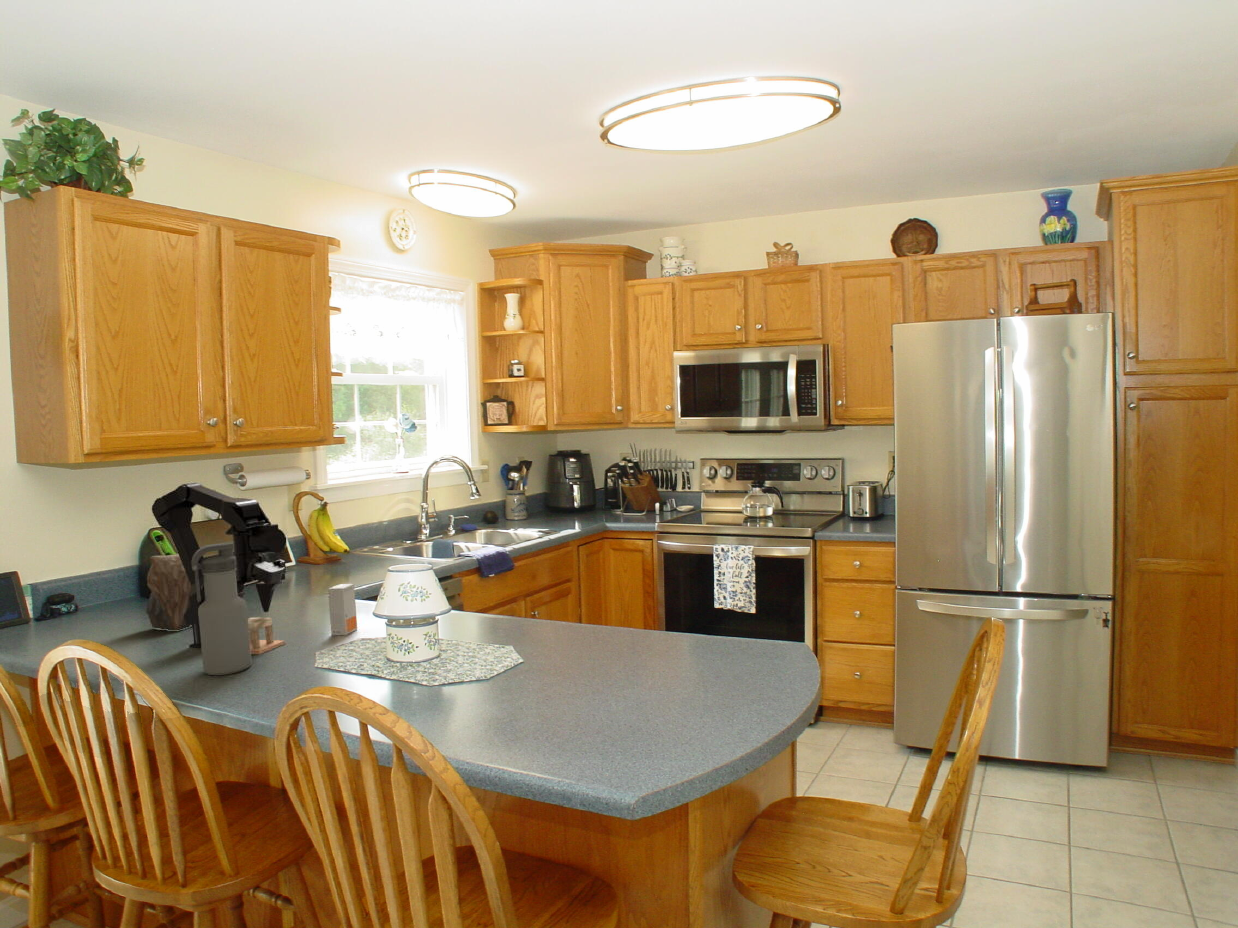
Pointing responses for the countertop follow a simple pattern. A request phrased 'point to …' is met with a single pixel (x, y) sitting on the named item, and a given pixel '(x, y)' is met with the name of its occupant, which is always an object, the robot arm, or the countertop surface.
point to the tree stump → (168, 592)
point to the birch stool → (254, 630)
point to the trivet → (266, 646)
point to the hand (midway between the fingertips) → (253, 616)
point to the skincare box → (342, 609)
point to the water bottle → (221, 612)
